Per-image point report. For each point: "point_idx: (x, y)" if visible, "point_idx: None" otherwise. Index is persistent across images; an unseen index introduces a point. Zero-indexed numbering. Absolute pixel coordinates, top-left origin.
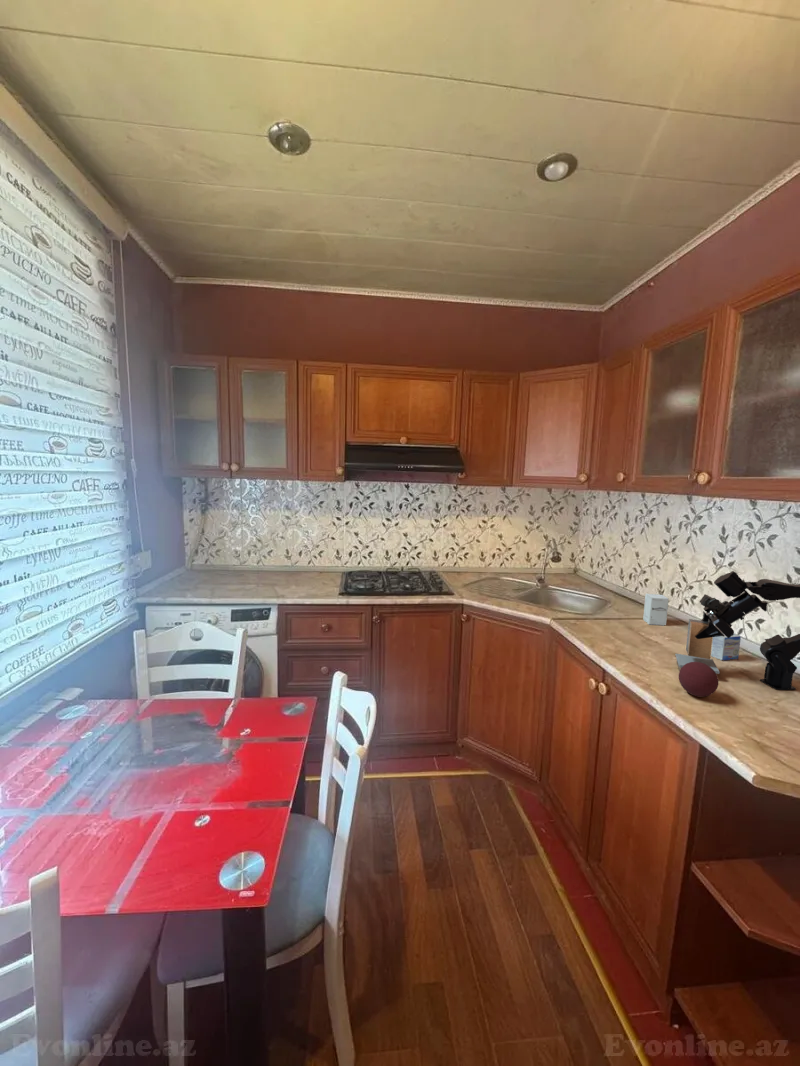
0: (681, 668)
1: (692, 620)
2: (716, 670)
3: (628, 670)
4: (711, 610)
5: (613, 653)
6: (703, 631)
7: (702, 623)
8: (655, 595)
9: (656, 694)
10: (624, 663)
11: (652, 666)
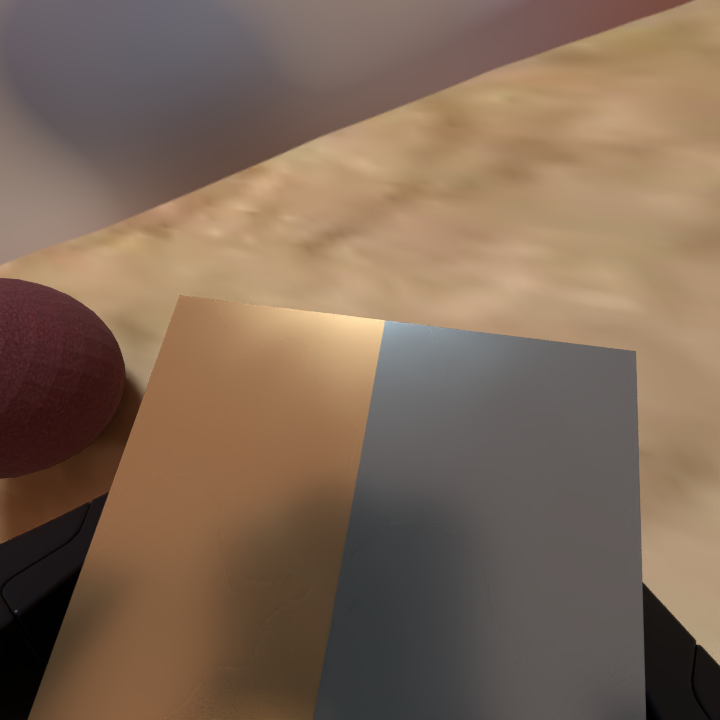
0: (11, 279)
1: (506, 399)
2: None
3: (295, 176)
4: None
5: (501, 134)
6: (101, 506)
7: (284, 596)
8: None
9: (79, 243)
10: (377, 168)
11: (383, 280)
